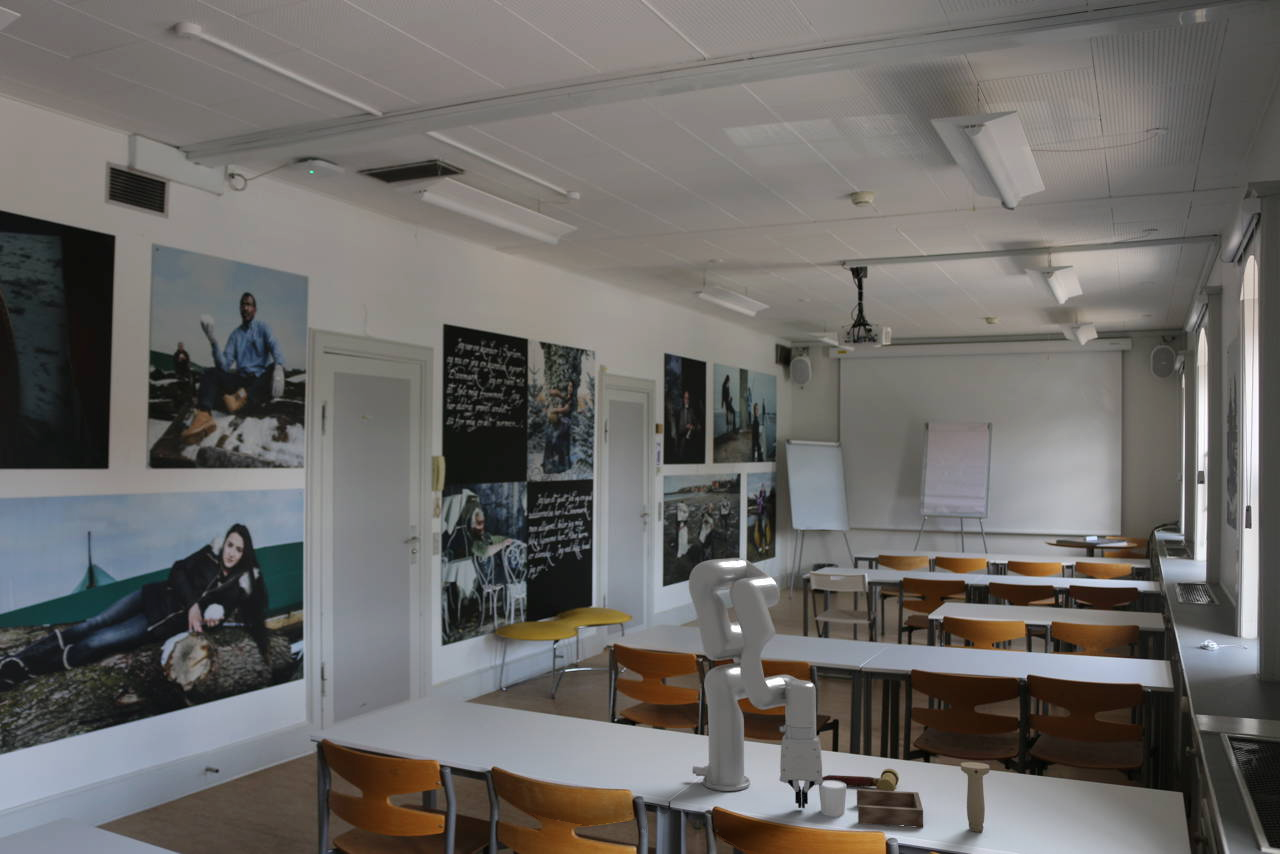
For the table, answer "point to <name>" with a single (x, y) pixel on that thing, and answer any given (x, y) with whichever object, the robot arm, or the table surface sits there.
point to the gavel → (870, 780)
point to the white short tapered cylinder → (832, 797)
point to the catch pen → (889, 808)
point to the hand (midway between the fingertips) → (801, 806)
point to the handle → (975, 793)
